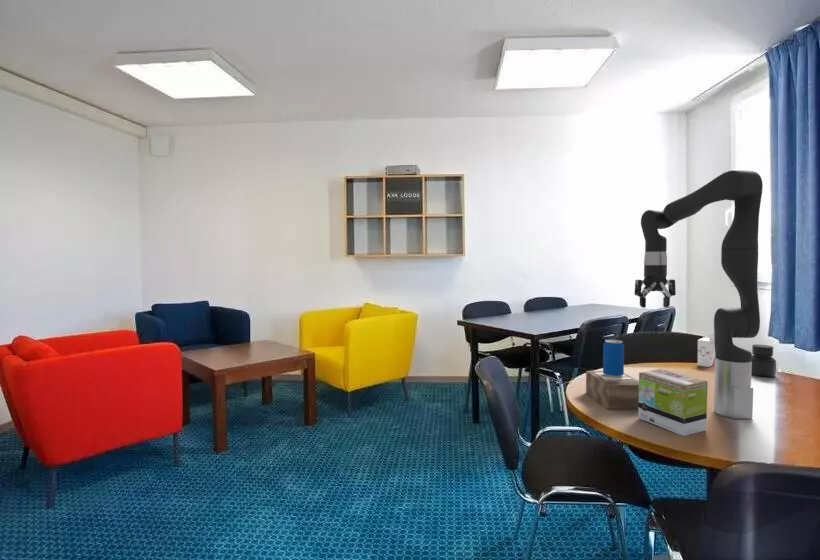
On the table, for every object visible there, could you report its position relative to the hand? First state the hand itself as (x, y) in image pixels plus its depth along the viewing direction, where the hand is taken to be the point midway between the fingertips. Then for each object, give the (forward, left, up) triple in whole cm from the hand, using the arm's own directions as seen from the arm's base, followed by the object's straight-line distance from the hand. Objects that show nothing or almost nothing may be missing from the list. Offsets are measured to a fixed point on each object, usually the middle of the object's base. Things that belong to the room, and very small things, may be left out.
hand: (654, 307), depth 171 cm
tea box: (-38, +16, -30) cm, 51 cm away
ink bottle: (+14, -53, -30) cm, 63 cm away
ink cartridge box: (+32, -42, -30) cm, 61 cm away
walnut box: (-15, +22, -30) cm, 40 cm away
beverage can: (-14, +22, -22) cm, 34 cm away
